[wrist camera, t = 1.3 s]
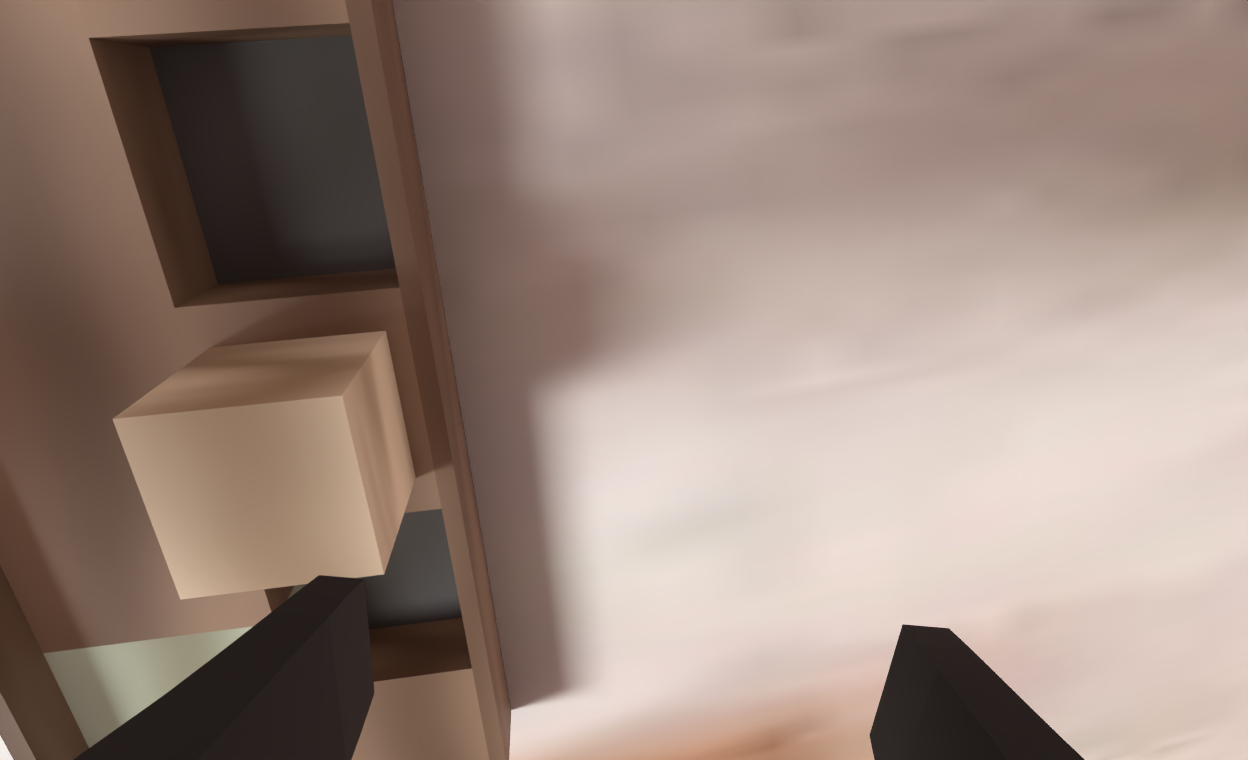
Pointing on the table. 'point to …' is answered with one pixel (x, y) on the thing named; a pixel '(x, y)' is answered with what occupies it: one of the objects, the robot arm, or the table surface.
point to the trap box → (213, 345)
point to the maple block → (273, 463)
